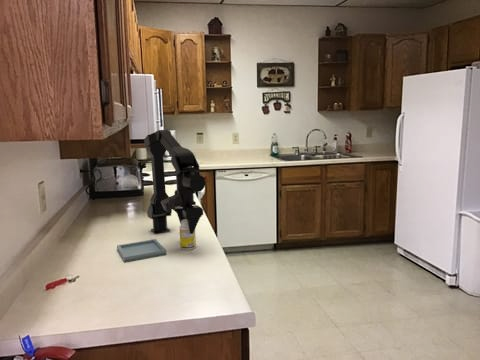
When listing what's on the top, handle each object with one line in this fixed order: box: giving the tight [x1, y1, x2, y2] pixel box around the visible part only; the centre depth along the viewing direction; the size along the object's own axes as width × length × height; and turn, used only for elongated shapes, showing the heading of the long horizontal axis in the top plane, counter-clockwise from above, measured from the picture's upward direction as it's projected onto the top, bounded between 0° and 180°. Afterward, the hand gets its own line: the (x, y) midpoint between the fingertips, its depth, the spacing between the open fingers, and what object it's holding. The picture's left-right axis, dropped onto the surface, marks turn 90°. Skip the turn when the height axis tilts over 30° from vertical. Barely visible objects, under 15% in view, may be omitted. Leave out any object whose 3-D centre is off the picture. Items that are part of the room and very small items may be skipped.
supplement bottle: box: [178, 219, 197, 251], centre depth 146 cm, size 6×6×10 cm
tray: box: [116, 238, 167, 263], centre depth 144 cm, size 14×14×2 cm
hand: (187, 230), depth 146 cm, fingers open, 9 cm apart
